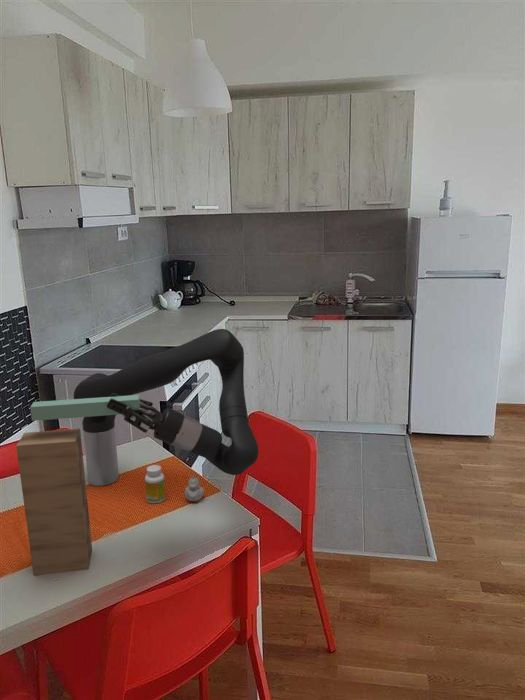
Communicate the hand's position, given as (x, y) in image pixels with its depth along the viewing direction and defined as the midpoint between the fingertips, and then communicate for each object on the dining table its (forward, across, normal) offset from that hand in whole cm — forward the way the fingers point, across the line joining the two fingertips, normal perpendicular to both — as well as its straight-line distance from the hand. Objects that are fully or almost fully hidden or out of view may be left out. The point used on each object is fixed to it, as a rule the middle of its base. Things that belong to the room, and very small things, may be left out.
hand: (109, 399), depth 119 cm
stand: (-8, +2, +40) cm, 41 cm away
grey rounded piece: (-36, -21, +25) cm, 48 cm away
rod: (+3, 0, +5) cm, 6 cm away
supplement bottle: (-26, -23, +30) cm, 46 cm away
